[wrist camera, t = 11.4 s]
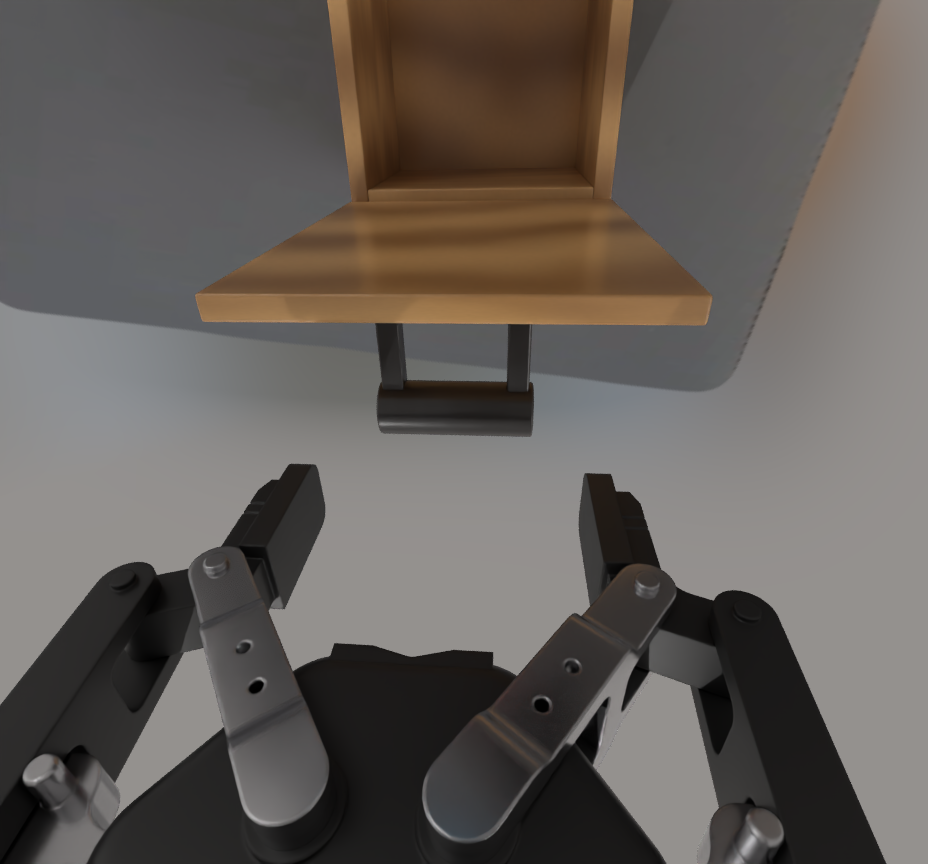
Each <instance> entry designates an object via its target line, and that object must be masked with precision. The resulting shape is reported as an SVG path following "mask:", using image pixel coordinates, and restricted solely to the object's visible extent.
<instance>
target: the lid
mask: <svg viewBox="0 0 928 864" xmlns="http://www.w3.org/2000/svg"><path fill="white" fill-rule="evenodd" d="M195 298H196V302H197V305H198V308H199V312H200V315H201V319H202V320H203V321H204V322H304V323H375V325H376V334H377V343H378V352H379V360H380V369H381V377H382V382H381V383H380V386H379V390H378V395H377V420H378V425H379V428H380V431H381V432H382V433H389V434H391V433H392V434H430V435H432V434H433V435H472V436H473V435H474V436H515V437H530V436H531V435H532V429H533V409H534V389H533V383H531V382H529V378H530V357H531V336H532V324H583V325H706V324H707V321H708V317H709V313H710V308H711V304H712V299H713V297H712V295H711V294H710V293H709V292H708V291H707V290H706V289H705V288H704V287H703V286H702V285H701V284H700V283H699V282H698V281H697V280H696V279H695V278H694V277H692V276H691V275H690V274H689V273H688V272H687V271H686V270H685V269H684V268H683V267H682V266H681V265H680V264H679V263H678V262H677V261H676V260H675V259H674V258H673V257H672V256H671V255H669V254H668V253H667V252H666V251H665V250H664V249H663V248H662V247H661V246H660V245H659V244H658V243H657V242H656V241H655V240H654V239H653V238H652V237H651V236H650V235H649V234H647V233H646V232H645V231H644V230H643V229H642V228H641V227H640V226H639V225H638V224H637V223H636V222H635V221H634V220H633V219H632V218H631V217H630V216H629V215H628V214H627V213H626V212H624V211H623V210H622V209H621V208H620V207H619V206H618V205H617V204H616V203H615V202H614V201H613V200H612V199H585V200H494V201H404V202H350V203H348V204H346V205H345V206H343V207H341V208H340V209H338V210H336V211H335V212H333V213H331V214H329V215H328V216H326V217H324V218H323V219H321V220H319V221H318V222H316V223H314V224H313V225H311V226H309V227H308V228H306V229H304V230H303V231H301V232H299V233H297V234H296V235H294V236H292V237H291V238H289V239H287V240H286V241H284V242H282V243H281V244H279V245H277V246H276V247H274V248H272V249H271V250H269V251H267V252H265V253H264V254H262V255H260V256H259V257H257V258H255V259H254V260H252V261H250V262H249V263H247V264H245V265H244V266H242V267H240V268H239V269H237V270H235V271H233V272H232V273H230V274H228V275H227V276H225V277H223V278H222V279H220V280H218V281H217V282H215V283H213V284H212V285H210V286H208V287H207V288H205V289H203V290H201V291H200V292H198V293H196V295H195ZM402 323H443V324H508V358H507V382H489V381H488V382H487V381H486V382H485V381H425V380H424V381H423V380H407V374H406V362H405V349H404V338H403V326H402Z"/></svg>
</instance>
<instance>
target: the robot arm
mask: <svg viewBox="0 0 928 864" xmlns="http://www.w3.org/2000/svg"><path fill="white" fill-rule="evenodd" d="M324 518H325V502H324V497H323V492H322V487H321V483H320V477H319V472H318V469H317V467H316V465H313V464H312V465H311V464H289V465H288V467H287V468H286V470H285V471H284V473H283V474H282V476H281V478H280V479H279V480H271V481H270V482H268V483H267V484H266V485H264V486H263V487H262V488H260V489H259V490H258V491H257V493H256V494H255V496H254V497H253V499H252V500H251V504H249V505H248V506H247V508H246V510H245V511H244V514H242V516H241V517H240V519H239V520H238V522H237V523H236V525H235V526H234V528H233V529H232V531H231V532H230V534H229V535H228V537H227V539H226V540H225V541H224V543H223V545H222V546H221V547H217V548H214V549H211V550H208V551H206V552H205V553H203V554H201V555H200V556H198V557H197V558H196V559H195V560H194V561H193V562H192V563H191V565H190V567H189V569H185V570H181V571H176V572H170V573H165V574H160V575H157V574H156V572H155V570H154V568H153V567H152V566H151V565H150V564H148V563H144V562H134V563H128V564H125V565H122V566H120V567H117V568H115V569H113V570H111V571H110V572H108V573H107V574H106V575H104V576H103V577H102V578H101V579H100V580H99V581H98V582H97V583H96V585H95V586H94V587H93V588H92V590H91V591H90V592H89V593H88V595H87V596H86V597H85V599H84V600H83V601H82V602H81V604H80V605H79V606H78V607H77V609H76V610H75V611H74V613H73V614H72V615H71V616H70V618H69V619H68V620H67V621H66V623H65V624H64V625H63V626H62V628H61V629H60V631H59V632H58V633H57V634H56V635H55V637H54V638H53V639H52V640H51V642H50V643H49V644H48V645H47V647H46V648H45V649H44V651H43V652H42V653H41V654H40V656H39V657H38V658H37V659H36V661H35V662H34V663H33V665H32V666H31V667H30V668H29V669H28V671H27V672H26V673H25V675H24V676H23V677H22V678H21V680H20V681H19V682H18V683H17V685H16V686H15V687H14V689H13V690H12V691H11V692H10V694H9V695H8V696H7V697H6V699H5V700H4V701H3V702H2V704H1V705H0V864H666V862H665V861H664V859H663V857H662V855H661V854H660V852H659V851H658V849H657V848H656V847H655V845H654V844H653V843H652V841H651V840H650V839H649V837H648V836H647V835H646V834H645V832H644V831H643V830H642V828H641V827H640V826H639V825H638V823H637V822H636V821H635V819H634V818H633V817H632V816H631V814H630V813H629V812H628V810H627V809H626V808H625V807H624V805H623V804H622V803H621V802H620V800H619V799H618V798H617V796H616V795H615V794H614V792H613V791H612V790H611V789H610V787H609V786H608V785H607V784H606V782H605V781H604V780H603V778H602V777H601V776H600V774H599V773H598V772H597V768H598V767H599V765H600V764H601V762H602V760H603V759H604V757H605V755H606V754H607V752H608V750H609V748H610V746H611V744H612V742H613V740H614V737H615V735H616V733H617V730H618V728H619V726H620V724H621V723H622V721H623V719H624V718H625V716H626V715H627V713H628V711H629V710H630V708H631V707H632V705H633V704H634V702H635V701H636V699H637V697H638V696H639V694H640V693H641V691H642V690H643V688H644V686H645V685H646V683H647V682H648V680H649V679H650V677H651V676H652V674H653V673H657V674H660V675H662V676H665V677H668V678H671V679H674V680H677V681H679V682H682V683H685V684H688V685H690V686H691V690H692V695H693V699H694V703H695V707H696V712H697V716H698V720H699V725H700V729H701V732H702V737H703V741H704V746H705V750H706V754H707V758H708V763H709V767H710V771H711V775H712V780H713V784H714V788H715V792H716V797H717V801H718V805H719V809H718V810H717V811H716V812H715V813H714V815H713V817H712V819H711V821H710V823H709V825H708V827H707V830H706V832H705V834H704V836H703V838H702V840H701V842H700V844H699V848H698V853H697V863H698V864H886V862H885V860H884V858H883V855H882V853H881V851H880V849H879V846H878V844H877V842H876V839H875V837H874V835H873V832H872V830H871V828H870V825H869V824H868V821H867V819H866V816H865V814H864V812H863V810H862V807H861V805H860V803H859V800H858V798H857V796H856V794H855V791H854V789H853V787H852V784H851V782H850V780H849V778H848V775H847V773H846V771H845V768H844V766H843V764H842V762H841V759H840V757H839V755H838V753H837V750H836V748H835V746H834V743H833V741H832V739H831V736H830V734H829V732H828V730H827V727H826V725H825V723H824V720H823V718H822V716H821V714H820V711H819V709H818V707H817V704H816V702H815V700H814V698H813V695H812V693H811V691H810V688H809V686H808V684H807V682H806V680H805V677H804V675H803V673H802V670H801V668H800V666H799V663H798V661H797V659H796V657H795V654H794V652H793V650H792V648H791V645H790V643H789V640H788V638H787V636H786V634H785V631H784V629H783V627H782V625H781V622H780V620H779V618H778V616H777V614H776V612H775V611H774V610H773V608H772V607H771V606H770V605H769V604H767V603H766V602H765V601H763V600H762V599H760V598H759V597H757V596H755V595H753V594H750V593H747V592H743V591H736V590H734V591H733V590H732V591H725V592H722V593H721V594H719V595H718V596H717V597H716V598H715V600H714V601H713V600H709V599H706V598H702V597H699V596H696V595H693V594H690V593H687V592H685V591H682V590H681V589H679V588H677V587H676V585H675V583H674V581H673V580H672V578H671V577H670V576H669V575H668V574H667V573H665V572H664V571H662V570H661V568H660V565H659V561H658V558H657V555H656V552H655V549H654V545H653V542H652V539H651V536H650V533H649V530H648V526H647V523H646V520H645V519H644V514H643V510H642V507H641V504H640V503H639V502H638V501H637V500H636V499H635V498H634V496H633V495H632V494H631V493H630V492H616V490H615V487H614V483H613V479H612V476H611V474H592V473H591V474H590V473H585V475H584V478H583V487H582V496H581V503H580V511H579V536H580V543H581V549H582V555H583V562H584V569H585V576H586V582H587V589H588V596H589V602H590V607H589V608H588V610H587V611H586V612H585V613H584V614H583V615H582V616H580V615H578V614H576V613H574V614H572V615H571V616H569V618H567V620H566V621H565V622H564V623H563V624H562V625H561V627H560V628H559V629H558V630H557V631H556V632H555V633H554V634H553V636H552V637H551V638H550V639H549V640H548V641H547V642H546V644H545V645H544V646H543V647H542V648H541V650H540V651H539V652H538V653H537V654H536V655H535V656H534V657H533V659H532V660H531V661H530V662H529V663H528V664H527V665H526V667H525V668H524V669H523V670H522V671H521V672H520V673H519V675H518V676H516V675H515V674H513V673H511V672H510V671H507V670H505V669H503V668H500V667H498V666H494V665H493V652H478V651H462V650H451V651H445V652H440V653H434V654H428V655H422V656H416V657H409V656H405V655H402V654H399V653H395V652H392V651H389V650H386V649H382V648H379V647H376V646H373V645H356V644H338V643H335V644H334V646H333V649H332V653H331V655H330V656H329V657H324V658H321V659H317V660H315V661H312V662H310V663H307V664H305V665H303V666H301V667H299V668H298V669H296V670H294V671H292V669H291V666H290V664H289V661H288V659H287V656H286V654H285V651H284V649H283V646H282V644H281V641H280V639H279V636H278V634H277V631H276V629H275V627H274V624H273V622H272V619H271V617H270V614H269V612H268V611H269V609H270V608H272V609H285V607H286V605H287V603H288V600H289V598H290V596H291V594H292V591H293V589H294V587H295V585H296V583H297V581H298V578H299V576H300V574H301V572H302V570H303V567H304V565H305V563H306V561H307V558H308V556H309V554H310V552H311V550H312V547H313V545H314V543H315V541H316V539H317V536H318V534H319V532H320V530H321V528H322V525H323V522H324ZM200 648H204V651H205V654H206V659H207V663H208V666H209V670H210V674H211V678H212V682H213V686H214V690H215V694H216V698H217V702H218V705H219V709H220V713H221V717H222V721H223V725H224V727H223V728H222V729H221V730H220V731H219V732H217V733H216V734H215V735H214V736H212V737H211V738H210V739H209V740H208V741H206V742H205V743H204V744H203V745H202V746H200V747H199V748H198V749H197V750H195V751H194V752H193V753H192V754H191V755H189V756H188V757H187V758H186V759H185V760H183V761H182V762H181V763H179V764H178V765H177V766H176V767H175V768H173V769H172V770H171V771H170V772H168V773H167V774H166V775H165V776H164V777H162V778H161V779H160V780H159V781H157V782H156V783H155V784H154V785H153V786H151V787H150V788H149V789H148V790H146V791H145V792H144V793H143V794H142V795H141V796H139V797H138V798H137V799H136V800H134V801H133V802H132V803H131V804H130V805H129V806H128V807H126V808H125V809H124V810H123V811H122V812H121V813H120V814H119V815H118V816H117V818H116V819H115V816H116V813H117V811H118V808H119V803H120V792H119V789H118V787H117V786H116V784H115V782H116V780H117V778H118V776H119V774H120V772H121V770H122V768H123V766H124V765H125V763H126V761H127V759H128V757H129V755H130V753H131V751H132V749H133V748H134V745H135V744H136V742H137V740H138V738H139V736H140V734H141V732H142V731H143V729H144V727H145V725H146V723H147V721H148V719H149V717H150V716H151V713H152V712H153V710H154V708H155V706H156V704H157V702H158V701H159V699H160V697H161V695H162V693H163V691H164V689H165V687H166V685H167V684H168V682H169V680H170V678H171V676H172V674H173V672H174V670H175V668H176V666H177V665H178V663H179V661H180V659H181V657H182V655H183V653H184V652H188V651H192V650H196V649H200ZM114 819H115V820H114Z"/></svg>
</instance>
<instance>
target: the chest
mask: <svg viewBox="0 0 928 864" xmlns="http://www.w3.org/2000/svg"><path fill="white" fill-rule="evenodd" d="M633 1H634V0H327V2H328V10H329V18H330V27H331V35H332V43H333V51H334V59H335V67H336V75H337V83H338V92H339V100H340V108H341V116H342V124H343V132H344V140H345V149H346V157H347V165H348V173H349V181H350V189H351V197H352V202H404V201H494V200H585V199H611V193H612V185H613V176H614V167H615V158H616V150H617V141H618V132H619V124H620V115H621V106H622V97H623V89H624V80H625V71H626V62H627V54H628V45H629V36H630V28H631V19H632V10H633Z"/></svg>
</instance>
